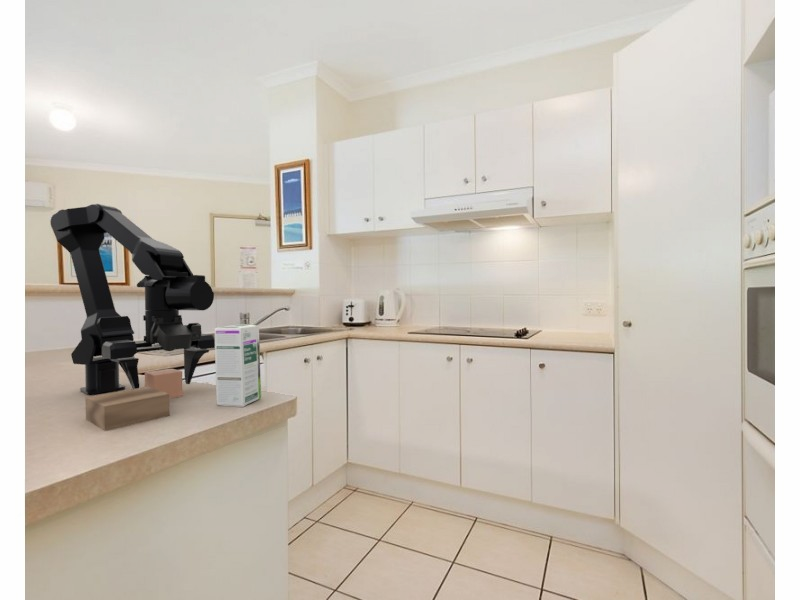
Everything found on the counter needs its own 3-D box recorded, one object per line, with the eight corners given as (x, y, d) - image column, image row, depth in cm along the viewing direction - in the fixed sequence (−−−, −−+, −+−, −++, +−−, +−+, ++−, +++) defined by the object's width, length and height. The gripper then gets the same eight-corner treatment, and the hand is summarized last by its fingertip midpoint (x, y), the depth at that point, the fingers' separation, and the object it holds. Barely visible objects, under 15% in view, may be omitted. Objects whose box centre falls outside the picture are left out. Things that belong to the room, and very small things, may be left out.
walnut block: (85, 421, 63) (85, 397, 63) (147, 408, 70) (147, 386, 70) (104, 433, 58) (104, 406, 58) (169, 417, 65) (169, 393, 65)
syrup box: (244, 407, 69) (243, 326, 69) (214, 405, 71) (213, 326, 70) (261, 398, 75) (260, 324, 75) (234, 397, 76) (233, 323, 76)
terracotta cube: (145, 397, 77) (144, 372, 77) (172, 392, 81) (171, 368, 81) (154, 401, 74) (154, 375, 74) (182, 396, 78) (182, 371, 78)
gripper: (120, 313, 65) (121, 406, 65) (228, 309, 79) (229, 385, 80) (100, 311, 72) (101, 395, 72) (202, 308, 86) (203, 378, 87)
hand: (163, 388), depth 77 cm, fingers open, 9 cm apart
